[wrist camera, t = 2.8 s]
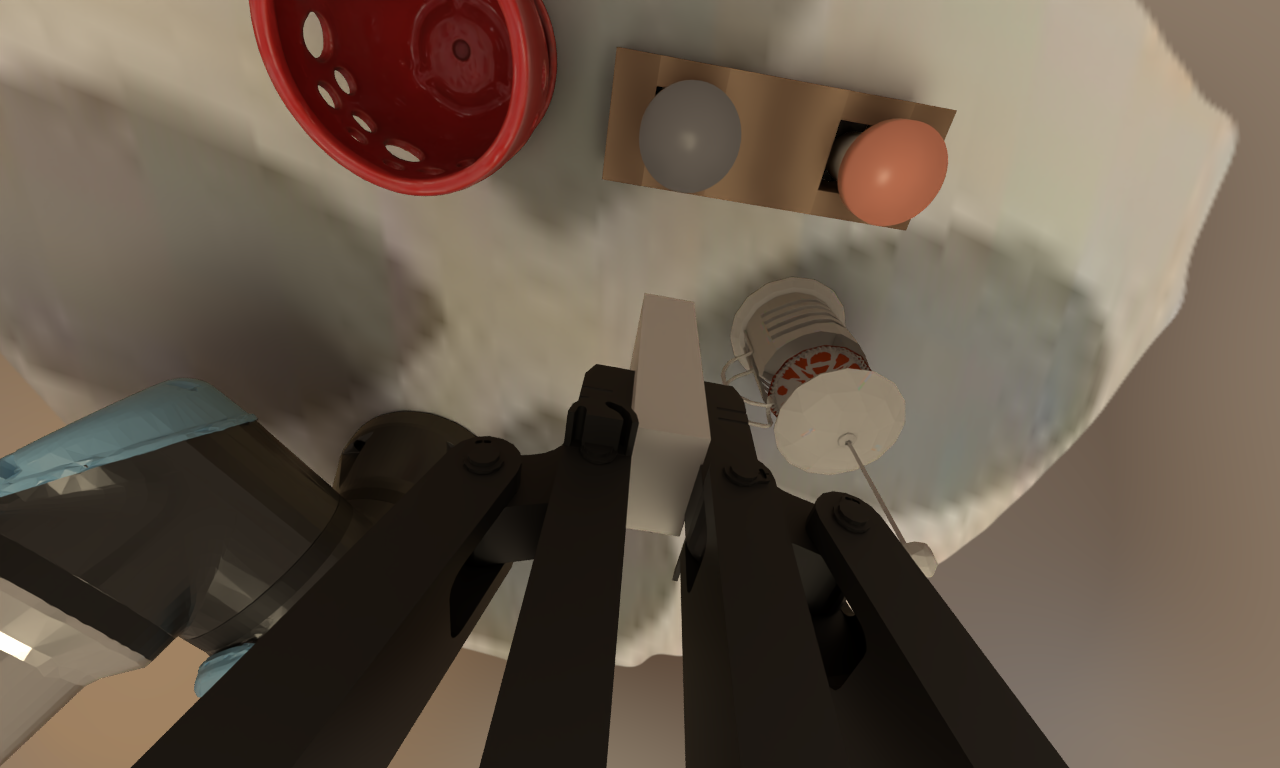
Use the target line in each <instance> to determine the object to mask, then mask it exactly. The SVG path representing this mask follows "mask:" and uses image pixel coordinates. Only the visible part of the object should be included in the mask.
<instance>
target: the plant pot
mask: <svg viewBox="0 0 1280 768" xmlns="http://www.w3.org/2000/svg"><path fill="white" fill-rule="evenodd" d="M249 5H250V13H251V20H252V25H253V30H254V34H255V38H256V42H257V45H258V49H259V52H260V54H261V57H262V60H263V62H264V65H265V67H266V70H267V72H268V74H269V77H270V79H271V81H272V83H273V85H274V87H275V89H276V91H277V92H278V94H279V96H280V97H281V99H282V101H283V102H284V104H285V105H286V107H287V108H288V110H289V111H290V112H291V114H292V115H293V117H294V118H295V119H296V121H297V122H298V123H299V124H300V126H301V127H302V128H303V129H304V131H305V132H306V133H307V134H308V135H309V136H310V137H311V139H312V140H313V141H314V142H315V143H316V144H317V145H318V146H319V147H320V148H321V149H322V150H324V151H325V152H326V153H327V154H328V155H329V156H330V157H331V158H333V159H334V160H335V161H336V162H338V163H339V164H340V165H342V166H343V167H345V168H346V169H348V170H349V171H351V172H352V173H354V174H356V175H357V176H359V177H361V178H362V179H364V180H366V181H368V182H371V183H373V184H375V185H377V186H380V187H382V188H385V189H388V190H391V191H394V192H397V193H402V194H407V195H414V196H437V195H444V194H449V193H453V192H456V191H460V190H463V189H465V188H468V187H470V186H472V185H474V184H476V183H478V182H480V181H482V180H484V179H485V178H487V177H489V176H490V175H492V174H493V173H495V172H496V171H497V170H498V169H500V168H501V167H502V166H503V165H504V164H505V163H506V162H507V161H509V160H510V159H511V158H512V157H513V156H514V155H515V154H516V153H517V152H518V151H519V150H520V149H521V148H522V147H523V146H524V144H525V143H526V142H527V141H528V139H529V138H530V136H531V134H532V132H533V131H534V129H535V128H536V127H537V125H538V124H539V123H540V121H541V120H542V118H543V117H544V115H545V113H546V111H547V109H548V107H549V104H550V102H551V99H552V95H553V92H554V88H555V82H556V74H557V52H556V42H555V36H554V32H553V28H552V24H551V21H550V18H549V15H548V13H547V10H546V8H545V6H544V4H543V2H542V0H249ZM310 12H314V13H315V14H316V15H317V17H318V19H319V21H320V24H321V27H322V31H323V50H322V53H321V55H320V57H318V58H314V57H313V56H312V54H311V53H310V52H309V50H308V49H307V47H306V44H305V41H304V37H303V27H304V23H305V20H306V18H307V17H308V14H309V13H310ZM335 70H336V71H339V72H340V73H341V74H342V75H343V76H344V78H345V79H346V81H347V83H348V86H349V89H350V94H347V93H345V92H344V91H343V90H342V89H341V88H340V87H339V85H338V83H337V81H336V79H335V75H334V71H335ZM318 85H319V86H321V87H323V88H324V89H325V90H326V91H327V92H328V93H329V95H330V96H331V98H332V100H333V102H334V106H335V108H333V107H331V106H330V105H328V104H327V102H326V101H325V100H324V99H323V97H322V96H321V94H320V92H319V90H318ZM353 115H355V116H358V117H359V118H360V119H362V120H363V121H364V122H365V123H366V124H367V125H368V127H369V128H370V130H371V132H368V131H366V130H365V129H364V128H362V127H361V126H360V125H359V124H358V122H357V121H356V120H355V119H354V117H353ZM351 135H352V136H353V137H355V138H356V139H357V140H358V141H357V140H356V139H355V138H353V137H352V136H351ZM386 145H393V146H397V147H400V148H402V149H404V150H406V151H408V152H410V153H412V154H413V155H414V156H416V157H417V158H418V159H419V160H420V161H419V162H410V161H405V160H402V159H399V158H398V157H396V156H394V155H392V154H391V153H390V152H389V151H388V150H387V149H386V147H385V146H386Z"/></svg>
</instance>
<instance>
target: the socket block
mask: <svg viewBox="0 0 1280 768" xmlns="http://www.w3.org/2000/svg"><path fill="white" fill-rule="evenodd" d="M684 80H699V81H704V82H708V83H710V84H712V85H714V86H716V87H718V88H719V89H721V90H722V91H723V92H724V93H725V94H726V95H727V96H728V97H729V98H730V99H731V101H732V103H733V104H734V106H735V108H736V110H737V112H738V115H739V119H740V124H741V144H740V149H739V152H738V156H737V158H736V160H735V162H734V164H733V166H732V168H731V169H730V170H729V172H728V173H727V174H726V175H725V176H724V177H723V179H721V180H720V181H719V182H718V183H717V184H715V185H713V186H712V187H710V188H708V189H706V190H703V191H700V192H694V193H687V194H693V195H698V196H704V197H710V198H716V199H722V200H728V201H734V202H740V203H746V204H752V205H758V206H764V207H770V208H775V209H781V210H787V211H793V212H799V213H805V214H811V215H817V216H823V217H829V218H835V219H841V220H847V221H852V222H858V223H864V224H869V223H866V222H864V221H863V220H861V219H859V218H858V217H856V216H855V215H854V214H852V213H851V212H850V211H849V210H848V209H847V208H846V207H845V205H844V204H843V202H842V200H841V198H840V195H839V191H838V182H835V181H829V180H823V179H822V175H823V172H824V169H825V166H826V163H827V160H828V157H829V154H830V151H831V148H832V144H833V141H834V138H835V135H836V132H837V129H838V126H839V123H840V120H846V121H851V122H857V123H862V124H867V127H866V130H867V129H868V128H870V127H871V126H873V125H875V124H877V123H879V122H882V121H885V120H889V119H897V118H902V119H910V120H916V121H920V122H924V123H926V124H928V125H930V126H931V127H933V128H934V129H935V130H936V131H937V132H938V133H939V134H940V135H941V137H942V138H943V140H945V137H946V135H947V133H948V130H949V128H950V125H951V123H952V121H953V118H954V116H955V114H956V111H957V110H951V109H946V108H941V107H935V106H930V105H925V104H919V103H914V102H909V101H903V100H898V99H893V98H887V97H882V96H877V95H871V94H866V93H861V92H855V91H850V90H845V89H839V88H834V87H829V86H823V85H818V84H813V83H807V82H802V81H797V80H791V79H786V78H781V77H775V76H770V75H765V74H759V73H754V72H749V71H743V70H738V69H733V68H727V67H722V66H717V65H711V64H706V63H701V62H695V61H690V60H685V59H679V58H674V57H669V56H663V55H658V54H653V53H647V52H642V51H637V50H631V49H626V48H621V47H617V51H616V60H615V68H614V77H613V86H612V95H611V104H610V113H609V122H608V131H607V140H606V149H605V158H604V167H603V176H602V179H604V180H610V181H616V182H621V183H627V184H633V185H639V186H645V187H651V188H657V189H663V190H669V191H673V190H670V189H668V188H666V187H664V186H662V185H661V184H660V183H658V182H657V181H656V180H655V179H654V178H653V177H652V175H651V174H650V173H649V172H648V170H647V168H646V166H645V164H644V162H643V160H642V156H641V153H640V147H639V132H640V126H641V121H642V118H643V115H644V113H645V111H646V108H647V107H648V105H649V104H650V102H651V101H652V99H653V98H654V97H655V93H656V87H657V86H660V87H667V86H669V85H671V84H673V83H676V82H679V81H684ZM675 192H676V191H675ZM910 220H911V219H909V220H907V221H905V222H902V223H900V224H896V225H891V226H882V227H888V228H894V229H900V230H906V229H907V227H908V224H909V222H910ZM870 225H872V224H870Z"/></svg>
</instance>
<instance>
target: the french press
mask: <svg viewBox="0 0 1280 768" xmlns="http://www.w3.org/2000/svg"><path fill="white" fill-rule="evenodd" d="M730 338H731V342H732V347H733V352H734V355H735V356H736V357H735V358H733V359H731V360H729V361H728V362H727V364H726V365H725V366H724V367H723V369H722V373H721V378H722V381H723V385H727V386H728V385H729V383H730V382H731V381H733V380H735V379H736V378H739V377H742V376H744V375H747V374H750V373H751V372H752V373H754V376H755V379H756V382H757V384H758V387H759V390H760V393H761V396H762V398H763V401H764V402H765V403H766V404H764V403H759V402H753V401H750V400H748V399H746V398H744V397H742V396H741V397H742V398H743V400H744V402H746V403H748V404H751V405H756V406H761V407H767V408H766V413H767V420H768V424H761V423H756V422H751V421H749V420H748V421H749V425H753V426H757V427H761V428H768V427H771V426H772V424H773V422H772V419H771V416H770V410H771V412H772V413H773V414H774V415H775V416H776V417H777V419H776V422H775V425H774V432H775V438H776V443H777V449H778V450H779V451H780V452H781V454H782V455H783V456H784V457H785V459H786V460H787V461H788V462H789V463H790V464H792V465H794V466H796V467H798V468H800V469H802V470H804V471H806V472H810V473H819V474H829V475H832V474H837V473H843V472H848V471H853V470H857V469H859V468H861V470H862V472H863V474H864V476H865V477H866V479H867V481H868V483H869V485H870V487H871V489H872V490H873V492H874V494H875V496H876V498H877V500H878V501H879V503H880V505H881V507H882V509H883V511H884V512H885V514H886V516H887V518H888V520H889V522H890V524H891V525H892V527H893V529H894V531H895V533H896V535H897V536H898V538H899V540H900V542H901V544H902V545H903V547H904V548H905V549H906V551H907V552H908V553H909V555H910V556H911V557H912V559H913V560H914V561H915V563H916V564H917V565H918V567H919V568H920V569H921V571H922V572H923V573H924V575H925V576H926V577H927V578H929V577H932V576H933V574H934V572H935V570H936V567H937V565H938V563H937V561H936V559H935V557H934V555H933V553H932V551H931V549H930V548H929V546H928V545H927V544H926V543H921V542H910V543H906V542H905V540H904V538H903V536H902V534H901V532H900V531H899V529H898V527H897V525H896V523H895V522H894V520H893V518H892V516H891V514H890V513H889V511H888V509H887V507H886V505H885V504H884V502H883V500H882V498H881V496H880V495H879V493H878V491H877V489H876V487H875V486H874V484H873V482H872V480H871V478H870V476H869V475H868V473H867V471H866V469H865V467H864V466H865V465H867V464H869V463H871V462H873V461H875V460H877V459H879V458H880V457H881V456H882V455H883V454H884V453H885V452H886V451H887V450H888V449H889V448H890V447H891V446H892V445H893V444H894V443H895V442H896V440H897V438H898V436H899V434H900V432H901V430H902V428H903V426H904V423H905V400H904V399H903V397H902V395H901V393H900V392H899V390H898V388H897V387H896V385H895V383H893V382H891V381H890V380H888V379H886V378H885V377H883V376H881V375H879V374H878V373H876V372H874V371H872V370H871V369H870V367H869V366H868V362H867V359H866V356H865V354H864V353H863V351H862V349H861V348H860V346H859V344H858V343H857V341H856V340H855V339H854V338H853V336H852V335H851V334H850V332H849V331H848V330H847V329H846V326H845V314H844V307H843V305H842V304H841V302H840V301H839V299H838V297H837V296H836V294H835V293H834V291H833V290H831V289H830V288H828V287H826V286H825V285H823V284H821V283H820V282H818V281H816V280H814V279H806V278H797V277H789V278H785V279H781V280H778V281H774V282H770V283H767V284H766V285H764V286H763V287H761V288H760V289H758V290H757V291H756V292H754V293H753V294H751V295H750V296H748V297H747V299H746V300H745V302H744V303H743V304H742V306H741V307H740V309H739V310H738V311H737V313H736V314H735V316H734V321H733V325H732V329H731V334H730ZM736 360H739V361H740V363H741V364H742V365H743V367H744V368H745V369H746V370H748V371H746V372H744V373H741V374H738V375H735V376H734V377H732V378H731V379H729V380H728V381H727V382H726V377H725V372H726V370H727V368H728V366H729V365H730V364H731V363H733V362H735V361H736ZM762 378H763V379H762ZM764 379H766V380H767V381H770V382H771V384H769V383H767V382H766V381H765V380H764ZM761 381H762V382H763V383H765V384H766V385H767V386H768V387H769V389H768V388H767V387H766V386H764V385H763V384H762V382H761ZM764 389H765V390H766V391H767V392H768V394H767V393H766V392H765V390H764ZM767 397H768V398H767Z"/></svg>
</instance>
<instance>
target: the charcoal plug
mask: <svg viewBox="0 0 1280 768" xmlns="http://www.w3.org/2000/svg"><path fill="white" fill-rule="evenodd" d="M740 144H741V124H740V119H739V115H738V112H737V110H736V108H735V106H734V104H733V103H732V101H731V99H730V98H729V97H728V96H727V95H726V94H725V93H724V92H723V91H722V90H721V89H719V88H718V87H716V86H714V85H712V84H710V83H708V82H704V81H699V80H684V81H679V82H676V83H673V84H671V85H669V86H667V87H666V88H664V89H663V90H661V91H660V92H659V93H658V94H657V95H656V96H655V97H654V98H653V99H652V101H651V102H650V104H649V105H648V107H647V108H646V111H645V113H644V115H643V118H642V121H641V126H640V132H639V147H640V153H641V156H642V160H643V162H644V164H645V166H646V168H647V170H648V172H649V173H650V174H651V175H652V177H653V178H654V179H655V180H656V181H657V182H658V183H660V184H661V185H662V186H664V187H666V188H668V189H670V190H673V191H676V192H681V193H694V192H700V191H703V190H706V189H708V188H710V187H712V186H713V185H715V184H717V183H718V182H719V181H720V180H721V179H723V177H724V176H725V175H726V174H727V173H728V172H729V170H730V169H731V168H732V166H733V164H734V162H735V160H736V158H737V156H738V152H739V149H740Z"/></svg>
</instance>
